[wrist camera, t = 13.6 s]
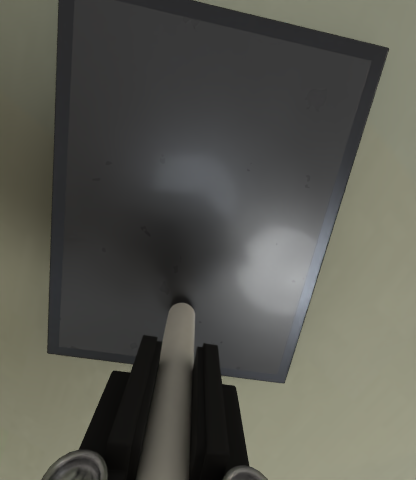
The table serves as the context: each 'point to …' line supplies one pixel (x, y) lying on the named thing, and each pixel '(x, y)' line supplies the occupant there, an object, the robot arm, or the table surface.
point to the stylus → (171, 402)
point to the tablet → (197, 175)
